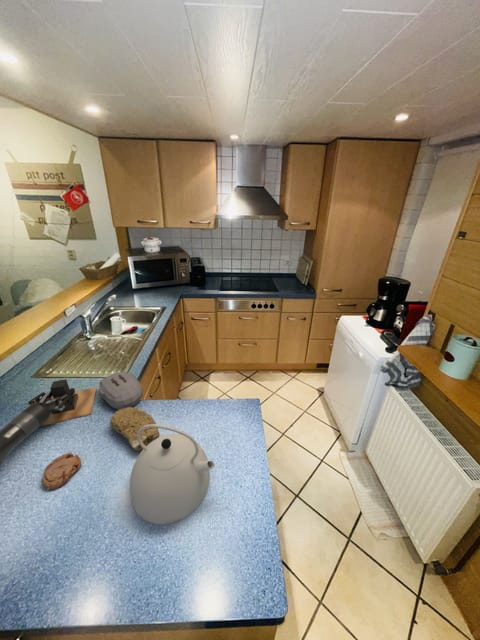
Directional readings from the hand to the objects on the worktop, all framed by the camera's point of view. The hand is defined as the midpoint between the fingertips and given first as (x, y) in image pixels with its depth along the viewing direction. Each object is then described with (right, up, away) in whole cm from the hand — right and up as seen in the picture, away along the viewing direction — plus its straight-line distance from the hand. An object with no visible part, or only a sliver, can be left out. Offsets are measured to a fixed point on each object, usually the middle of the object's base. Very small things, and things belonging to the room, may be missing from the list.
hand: (66, 388), depth 100 cm
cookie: (+15, -19, -23) cm, 34 cm away
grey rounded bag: (+20, -5, +7) cm, 22 cm away
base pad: (-1, -8, +1) cm, 8 cm away
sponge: (+32, -13, -10) cm, 36 cm away
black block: (0, -7, +1) cm, 7 cm away
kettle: (+51, -21, -25) cm, 60 cm away
